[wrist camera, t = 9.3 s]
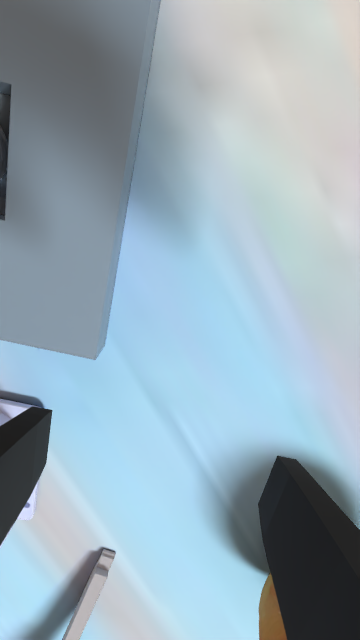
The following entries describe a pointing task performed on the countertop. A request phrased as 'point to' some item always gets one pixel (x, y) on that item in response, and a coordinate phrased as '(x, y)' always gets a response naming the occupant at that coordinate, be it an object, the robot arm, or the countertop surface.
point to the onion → (270, 614)
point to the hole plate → (68, 162)
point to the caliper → (89, 596)
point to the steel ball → (3, 153)
